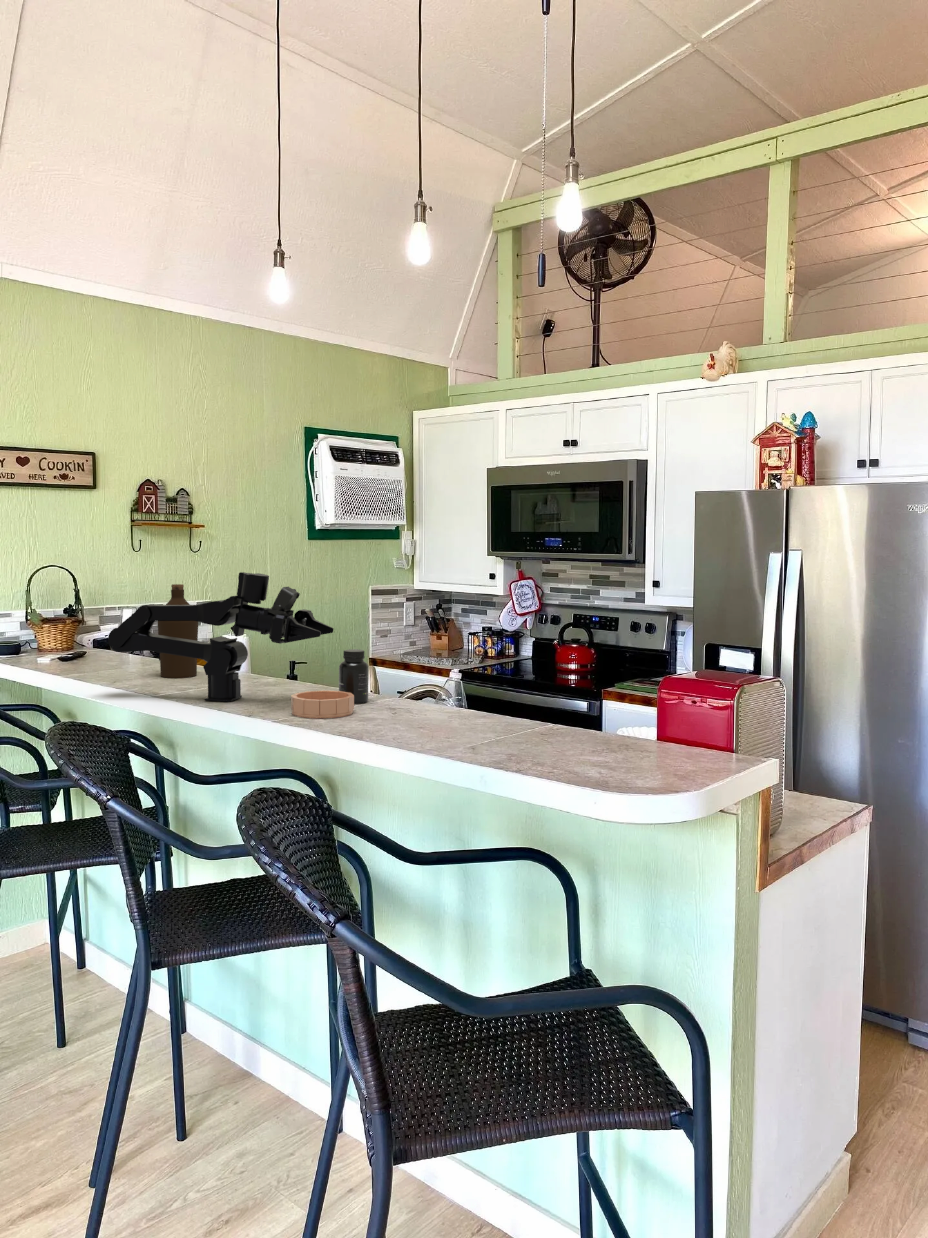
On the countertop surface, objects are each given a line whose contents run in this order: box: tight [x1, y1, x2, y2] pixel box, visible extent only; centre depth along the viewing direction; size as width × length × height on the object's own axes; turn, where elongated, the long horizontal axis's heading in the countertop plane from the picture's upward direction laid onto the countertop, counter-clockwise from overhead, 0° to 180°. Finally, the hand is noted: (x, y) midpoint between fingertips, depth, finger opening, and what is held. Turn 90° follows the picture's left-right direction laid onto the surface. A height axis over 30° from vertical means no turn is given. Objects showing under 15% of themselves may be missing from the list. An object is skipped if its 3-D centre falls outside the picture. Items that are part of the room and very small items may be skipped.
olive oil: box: [156, 583, 199, 679], centre depth 245 cm, size 11×11×25 cm
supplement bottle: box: [338, 648, 370, 705], centre depth 208 cm, size 7×7×12 cm
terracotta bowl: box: [290, 689, 355, 719], centre depth 194 cm, size 13×13×4 cm
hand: (326, 632), depth 204 cm, fingers open, 9 cm apart
